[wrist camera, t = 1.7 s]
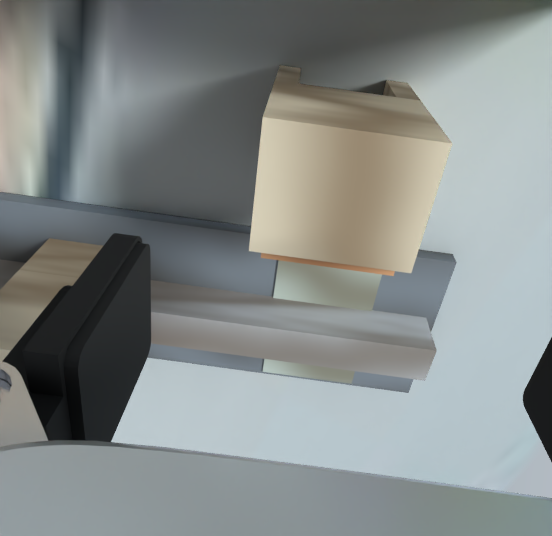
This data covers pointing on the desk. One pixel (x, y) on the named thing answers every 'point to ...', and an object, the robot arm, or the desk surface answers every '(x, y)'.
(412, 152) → the block
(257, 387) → the desk surface
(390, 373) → the rail fixture
